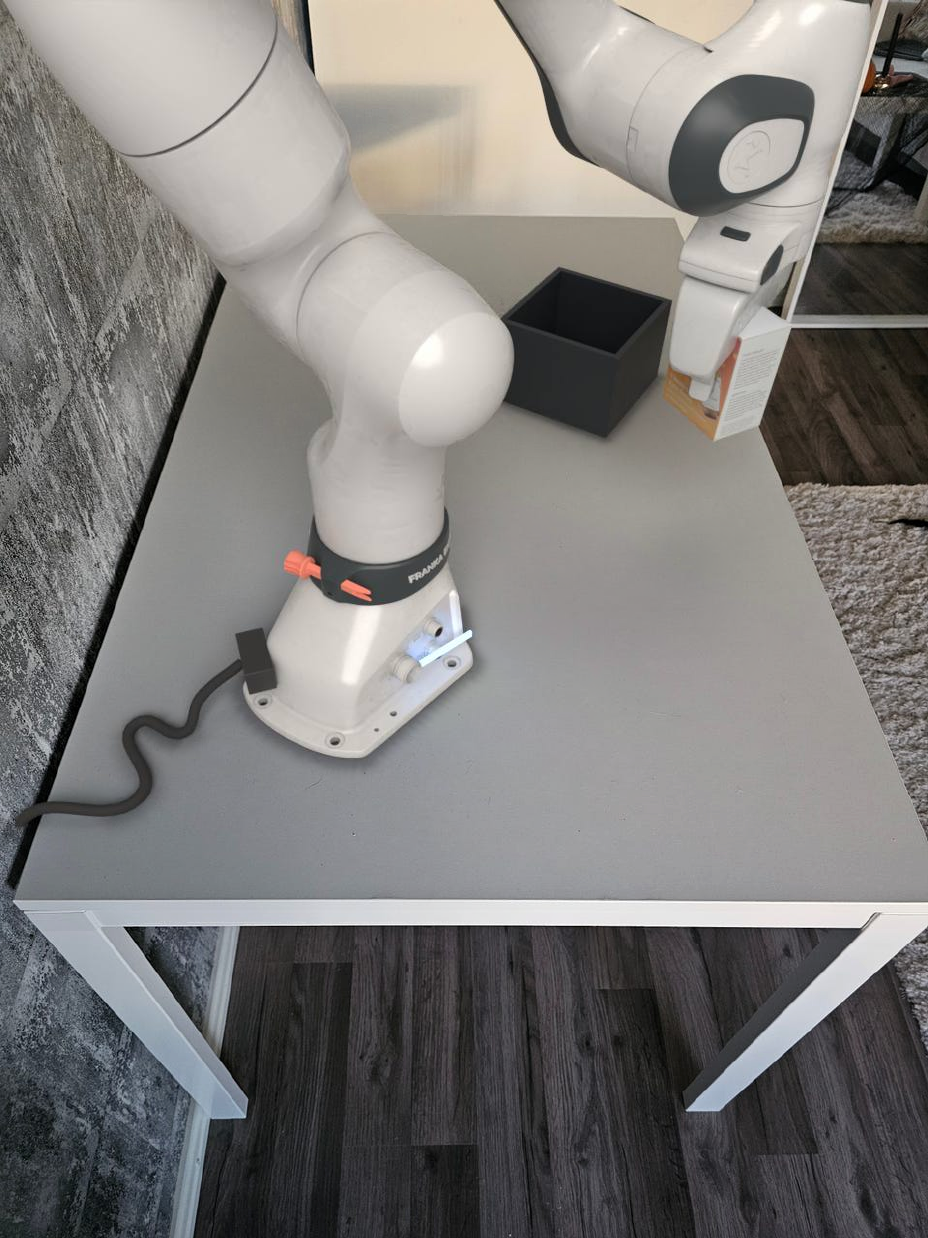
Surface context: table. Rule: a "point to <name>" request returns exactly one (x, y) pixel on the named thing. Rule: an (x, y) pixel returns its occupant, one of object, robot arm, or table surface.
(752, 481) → the table surface
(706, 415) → the small box
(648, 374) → the trash bin
